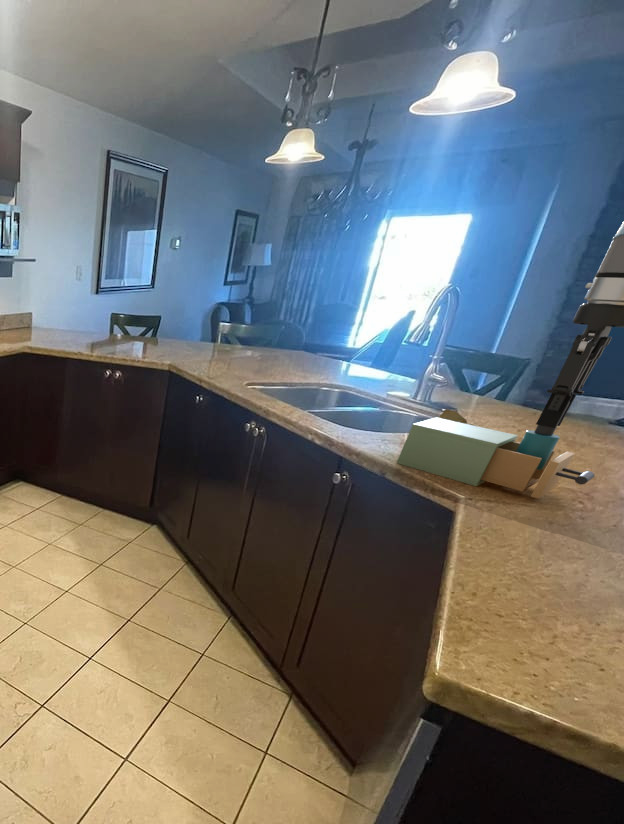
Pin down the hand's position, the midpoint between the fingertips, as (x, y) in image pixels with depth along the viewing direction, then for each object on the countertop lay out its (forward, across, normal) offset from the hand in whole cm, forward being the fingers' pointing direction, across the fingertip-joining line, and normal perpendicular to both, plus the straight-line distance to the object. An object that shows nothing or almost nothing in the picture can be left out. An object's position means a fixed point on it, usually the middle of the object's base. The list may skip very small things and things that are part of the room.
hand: (547, 424), depth 100 cm
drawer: (+13, 0, 0) cm, 13 cm away
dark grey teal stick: (+9, 0, 0) cm, 9 cm away
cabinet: (+14, 0, -12) cm, 19 cm away
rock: (+14, -20, -18) cm, 30 cm away
